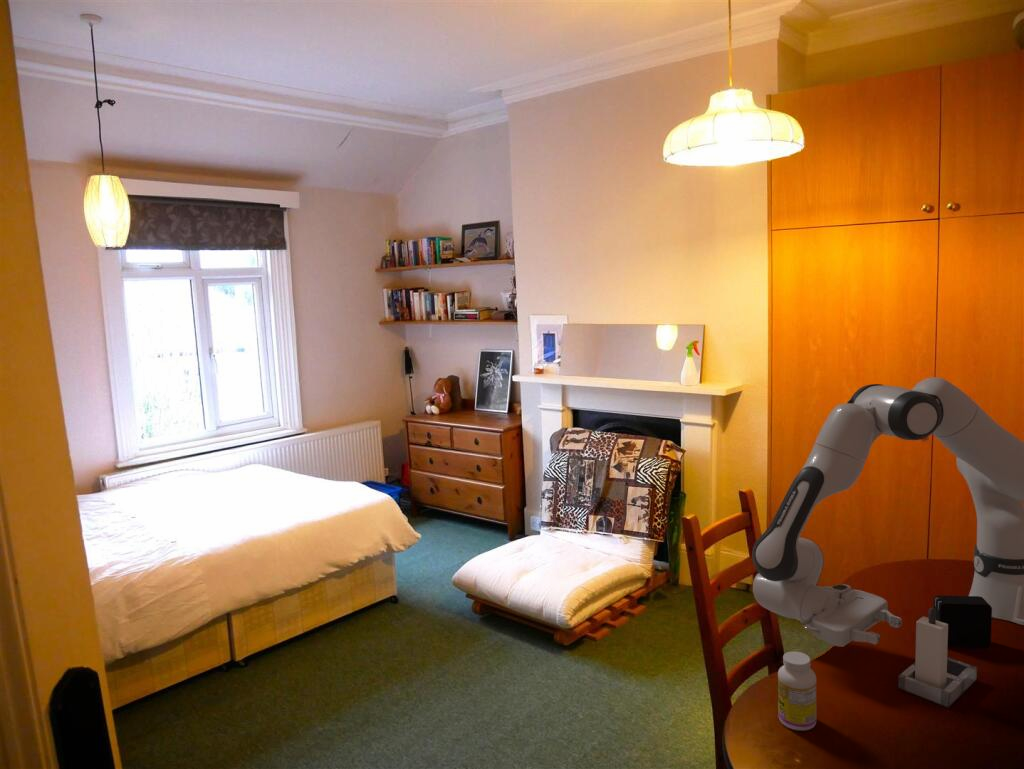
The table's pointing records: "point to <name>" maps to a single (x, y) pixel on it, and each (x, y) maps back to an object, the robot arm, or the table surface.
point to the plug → (931, 651)
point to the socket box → (956, 685)
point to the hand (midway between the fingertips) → (889, 631)
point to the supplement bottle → (797, 692)
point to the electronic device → (965, 620)
